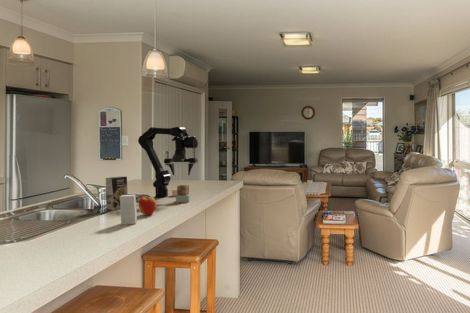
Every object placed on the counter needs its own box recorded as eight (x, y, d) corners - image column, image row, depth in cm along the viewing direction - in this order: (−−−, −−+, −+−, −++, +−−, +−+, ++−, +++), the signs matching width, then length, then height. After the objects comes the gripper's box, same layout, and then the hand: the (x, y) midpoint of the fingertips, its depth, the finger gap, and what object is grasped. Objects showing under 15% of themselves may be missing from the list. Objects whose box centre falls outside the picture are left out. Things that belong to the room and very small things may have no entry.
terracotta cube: (172, 196, 270) (172, 190, 270) (172, 195, 274) (172, 189, 274) (179, 196, 270) (178, 189, 270) (179, 195, 274) (179, 188, 274)
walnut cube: (177, 195, 247) (177, 186, 246) (180, 194, 251) (180, 185, 251) (186, 195, 245) (185, 186, 245) (189, 194, 250) (188, 185, 250)
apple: (157, 212, 215) (157, 192, 215) (155, 216, 207) (154, 194, 207) (140, 213, 215) (139, 192, 215) (137, 216, 207) (136, 194, 207)
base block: (176, 203, 245) (175, 195, 245) (177, 201, 252) (177, 194, 252) (188, 202, 245) (188, 195, 245) (190, 200, 252) (190, 193, 252)
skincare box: (137, 222, 194) (135, 194, 193) (135, 224, 190) (134, 195, 189) (122, 222, 194) (121, 194, 193) (120, 224, 190) (119, 196, 189)
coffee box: (114, 210, 227) (112, 178, 226) (106, 209, 231) (104, 177, 230) (128, 207, 234) (127, 176, 234) (120, 206, 238) (119, 175, 237)
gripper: (160, 149, 256) (161, 177, 257) (192, 148, 253) (193, 176, 254) (166, 148, 267) (167, 175, 268) (197, 147, 264) (198, 174, 265)
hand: (181, 175), depth 263 cm, fingers open, 9 cm apart
